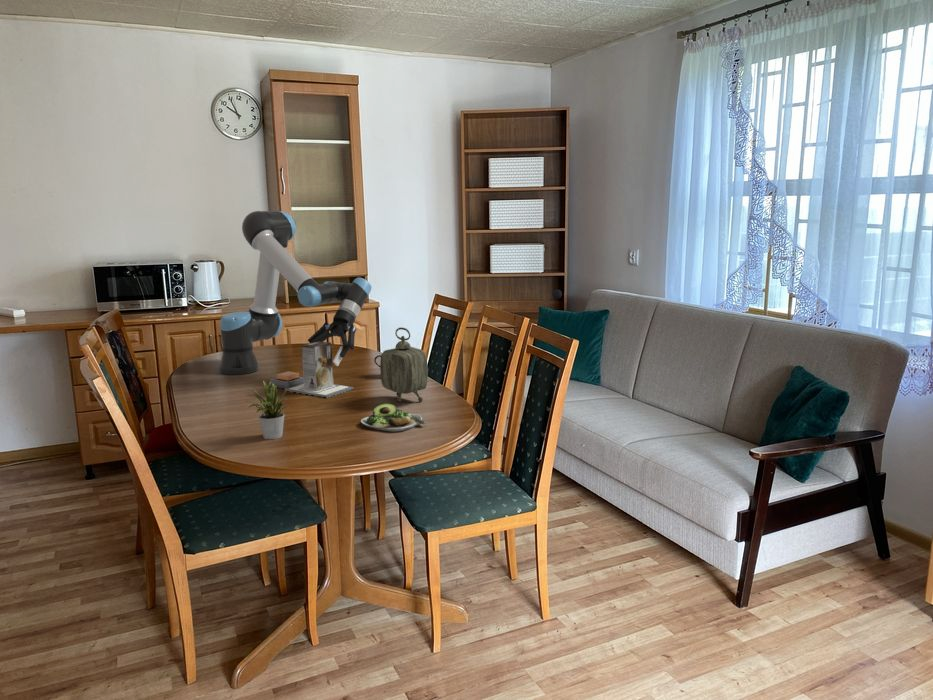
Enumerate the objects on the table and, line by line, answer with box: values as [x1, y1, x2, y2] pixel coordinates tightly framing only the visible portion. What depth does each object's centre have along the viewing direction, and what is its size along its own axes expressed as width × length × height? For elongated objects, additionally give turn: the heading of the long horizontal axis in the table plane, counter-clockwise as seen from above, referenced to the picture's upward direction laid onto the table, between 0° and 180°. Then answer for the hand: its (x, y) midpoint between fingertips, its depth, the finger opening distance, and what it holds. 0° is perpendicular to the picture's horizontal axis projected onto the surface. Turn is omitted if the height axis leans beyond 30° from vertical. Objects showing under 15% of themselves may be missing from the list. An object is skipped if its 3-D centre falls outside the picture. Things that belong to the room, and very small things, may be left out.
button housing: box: [269, 376, 304, 389], centre depth 253 cm, size 9×9×2 cm
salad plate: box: [359, 403, 427, 433], centre depth 206 cm, size 19×18×5 cm
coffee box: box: [301, 341, 335, 391], centre depth 245 cm, size 9×6×16 cm
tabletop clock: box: [379, 327, 429, 403], centre depth 229 cm, size 14×9×25 cm, turn 48°
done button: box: [276, 371, 300, 380], centre depth 253 cm, size 6×6×2 cm
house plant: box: [246, 380, 291, 440], centre depth 194 cm, size 14×14×16 cm
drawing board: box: [284, 383, 354, 399], centre depth 246 cm, size 20×14×1 cm
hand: (320, 362), depth 245 cm, fingers open, 13 cm apart
